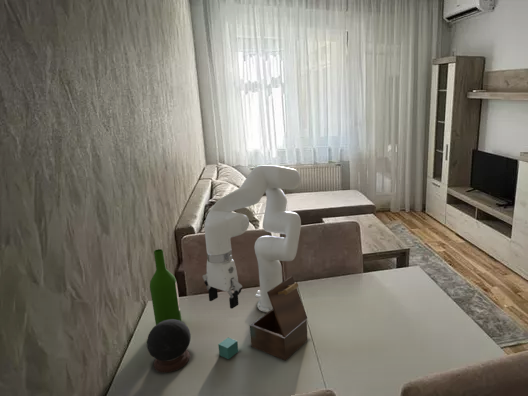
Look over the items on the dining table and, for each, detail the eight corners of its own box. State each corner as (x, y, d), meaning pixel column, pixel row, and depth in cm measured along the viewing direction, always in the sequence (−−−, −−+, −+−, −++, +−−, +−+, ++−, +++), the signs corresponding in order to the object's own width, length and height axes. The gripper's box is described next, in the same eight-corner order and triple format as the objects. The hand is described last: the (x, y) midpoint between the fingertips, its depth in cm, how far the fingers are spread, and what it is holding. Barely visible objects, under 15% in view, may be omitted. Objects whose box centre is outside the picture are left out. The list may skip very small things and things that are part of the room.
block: (219, 355, 134) (218, 344, 132) (229, 347, 138) (228, 337, 136) (228, 359, 132) (227, 348, 130) (238, 351, 135) (237, 340, 134)
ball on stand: (147, 358, 132) (141, 320, 128) (188, 343, 140) (183, 307, 136) (154, 380, 122) (147, 339, 118) (197, 363, 129) (192, 325, 125)
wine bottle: (186, 327, 149) (175, 250, 140) (162, 337, 143) (149, 257, 134) (176, 318, 155) (166, 243, 146) (153, 327, 149) (140, 250, 140)
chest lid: (266, 292, 128) (278, 290, 125) (291, 276, 138) (302, 274, 136) (283, 337, 129) (294, 336, 126) (305, 318, 140) (317, 317, 137)
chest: (251, 346, 138) (249, 325, 136) (274, 328, 149) (273, 308, 147) (285, 360, 131) (284, 338, 129) (307, 340, 142) (306, 319, 140)
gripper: (247, 257, 124) (251, 304, 128) (210, 247, 132) (214, 292, 136) (230, 265, 117) (234, 315, 122) (191, 254, 125) (196, 301, 129)
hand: (223, 302), depth 129 cm, fingers open, 9 cm apart
